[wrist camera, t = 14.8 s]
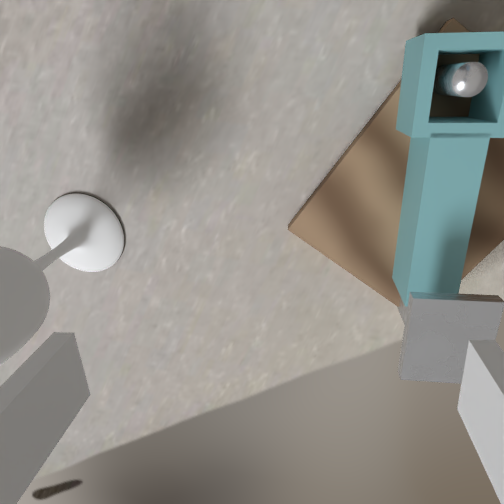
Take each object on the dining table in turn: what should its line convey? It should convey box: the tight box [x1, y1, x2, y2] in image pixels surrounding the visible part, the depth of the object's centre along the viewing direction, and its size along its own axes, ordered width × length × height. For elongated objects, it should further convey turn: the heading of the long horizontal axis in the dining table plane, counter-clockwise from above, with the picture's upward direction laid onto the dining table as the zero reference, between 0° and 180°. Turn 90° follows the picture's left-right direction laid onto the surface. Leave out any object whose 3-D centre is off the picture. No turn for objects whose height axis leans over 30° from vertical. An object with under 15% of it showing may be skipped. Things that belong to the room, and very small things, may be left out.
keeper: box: [397, 292, 504, 384], centre depth 35 cm, size 7×6×12 cm
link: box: [392, 32, 504, 307], centre depth 33 cm, size 20×7×6 cm, turn 1°
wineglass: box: [0, 194, 124, 365], centre depth 34 cm, size 9×9×21 cm
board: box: [288, 18, 504, 307], centre depth 37 cm, size 21×16×2 cm
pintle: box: [433, 62, 488, 97], centre depth 31 cm, size 2×2×7 cm
